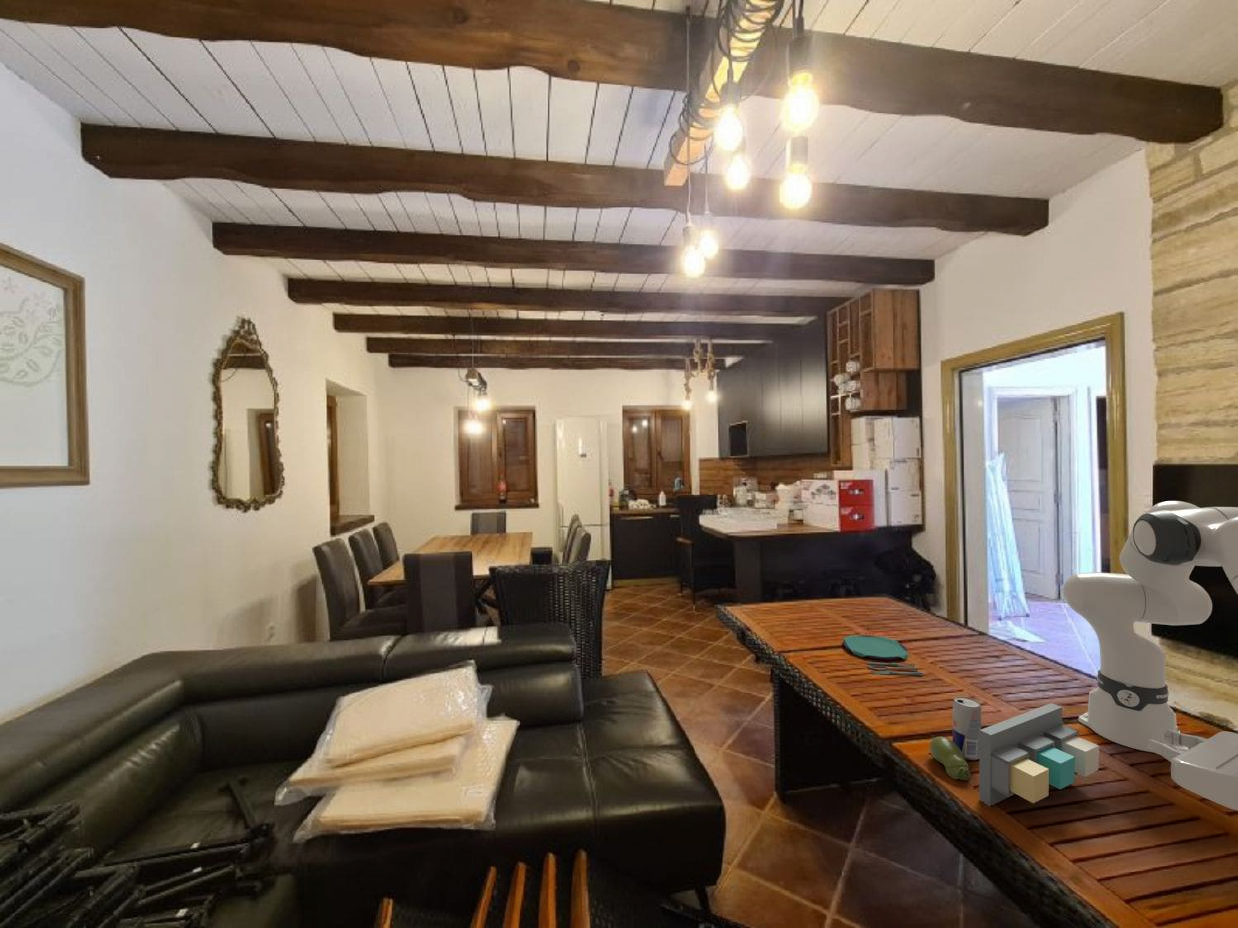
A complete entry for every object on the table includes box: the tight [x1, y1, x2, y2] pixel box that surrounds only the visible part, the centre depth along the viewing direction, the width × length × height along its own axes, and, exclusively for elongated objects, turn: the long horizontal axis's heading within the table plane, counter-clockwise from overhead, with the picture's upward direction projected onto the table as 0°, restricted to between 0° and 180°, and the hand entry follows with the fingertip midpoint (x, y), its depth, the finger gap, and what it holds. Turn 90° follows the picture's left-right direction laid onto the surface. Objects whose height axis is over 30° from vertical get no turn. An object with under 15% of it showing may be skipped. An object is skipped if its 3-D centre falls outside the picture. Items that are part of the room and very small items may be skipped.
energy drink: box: [952, 696, 982, 761], centre depth 117 cm, size 5×5×12 cm
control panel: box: [978, 702, 1080, 807], centre depth 104 cm, size 25×5×14 cm, turn 115°
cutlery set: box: [843, 634, 923, 677], centre depth 172 cm, size 20×30×2 cm, turn 170°
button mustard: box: [1010, 758, 1050, 804], centre depth 97 cm, size 5×4×5 cm
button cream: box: [1062, 736, 1100, 777], centre depth 104 cm, size 5×4×5 cm
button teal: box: [1037, 746, 1076, 790], centre depth 101 cm, size 5×4×5 cm
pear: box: [929, 736, 971, 781], centre depth 112 cm, size 6×5×10 cm
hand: (1157, 738), depth 87 cm, fingers open, 5 cm apart
